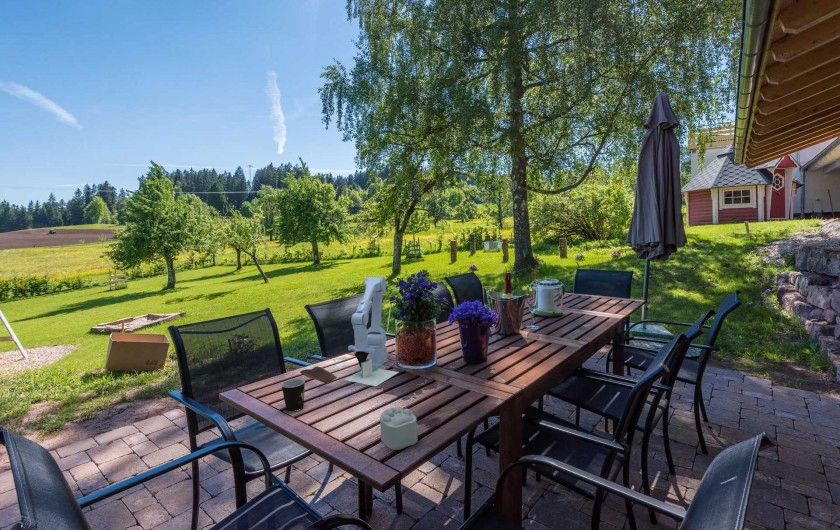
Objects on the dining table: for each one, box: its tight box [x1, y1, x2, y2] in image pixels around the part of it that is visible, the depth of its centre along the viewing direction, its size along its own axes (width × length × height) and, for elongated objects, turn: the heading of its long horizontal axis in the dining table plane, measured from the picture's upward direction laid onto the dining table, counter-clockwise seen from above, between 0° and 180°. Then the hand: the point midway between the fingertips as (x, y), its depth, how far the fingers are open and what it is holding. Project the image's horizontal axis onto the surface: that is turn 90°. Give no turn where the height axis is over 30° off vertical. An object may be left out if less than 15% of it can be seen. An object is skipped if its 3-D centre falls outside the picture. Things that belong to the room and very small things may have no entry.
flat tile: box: [372, 364, 382, 373], centre depth 187 cm, size 6×7×2 cm
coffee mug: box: [281, 378, 306, 412], centre depth 151 cm, size 12×9×10 cm
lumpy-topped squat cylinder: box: [379, 406, 418, 451], centre depth 125 cm, size 10×13×9 cm
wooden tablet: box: [300, 365, 337, 384], centre depth 183 cm, size 26×2×10 cm
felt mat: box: [343, 368, 399, 387], centre depth 179 cm, size 18×18×1 cm
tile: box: [360, 358, 372, 379], centre depth 179 cm, size 6×2×7 cm, turn 150°
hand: (362, 366), depth 180 cm, fingers closed
